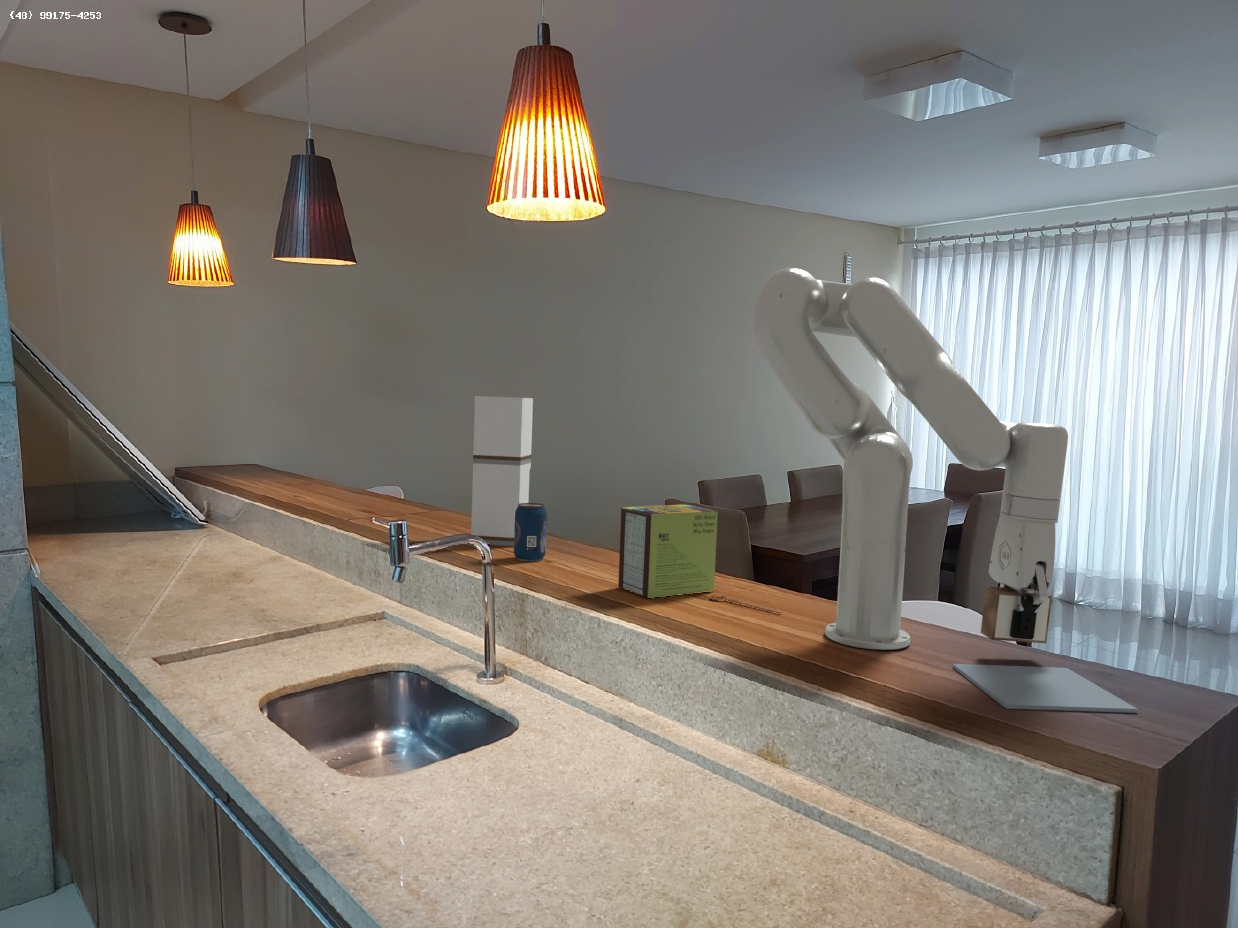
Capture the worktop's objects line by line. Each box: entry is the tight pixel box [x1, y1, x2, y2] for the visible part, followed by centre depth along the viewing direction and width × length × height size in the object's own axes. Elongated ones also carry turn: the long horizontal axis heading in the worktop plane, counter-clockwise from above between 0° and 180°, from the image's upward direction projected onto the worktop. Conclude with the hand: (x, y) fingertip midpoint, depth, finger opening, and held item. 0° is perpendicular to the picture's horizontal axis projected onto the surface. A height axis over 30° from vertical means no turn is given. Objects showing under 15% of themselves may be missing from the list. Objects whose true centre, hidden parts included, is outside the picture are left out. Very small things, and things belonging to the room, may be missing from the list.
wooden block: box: [980, 585, 1053, 644], centre depth 124 cm, size 4×8×7 cm, turn 91°
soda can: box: [513, 502, 548, 562], centre depth 186 cm, size 7×7×12 cm
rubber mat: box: [952, 663, 1138, 714], centre depth 111 cm, size 16×16×1 cm
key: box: [709, 595, 781, 614], centre depth 152 cm, size 6×1×15 cm
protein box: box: [617, 504, 719, 599], centre depth 161 cm, size 10×15×16 cm
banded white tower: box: [470, 395, 534, 547], centre depth 206 cm, size 11×11×35 cm
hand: (1014, 632), depth 124 cm, fingers closed on wooden block, 3 cm apart
